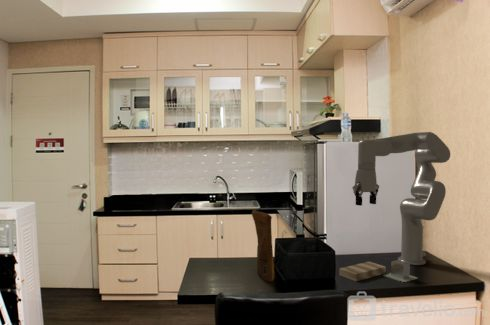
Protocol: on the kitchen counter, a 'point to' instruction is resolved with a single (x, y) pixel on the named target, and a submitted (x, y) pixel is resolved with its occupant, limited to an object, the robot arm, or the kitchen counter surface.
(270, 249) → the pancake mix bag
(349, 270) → the tan flat block
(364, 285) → the kitchen counter surface
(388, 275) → the sage mat
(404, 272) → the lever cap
